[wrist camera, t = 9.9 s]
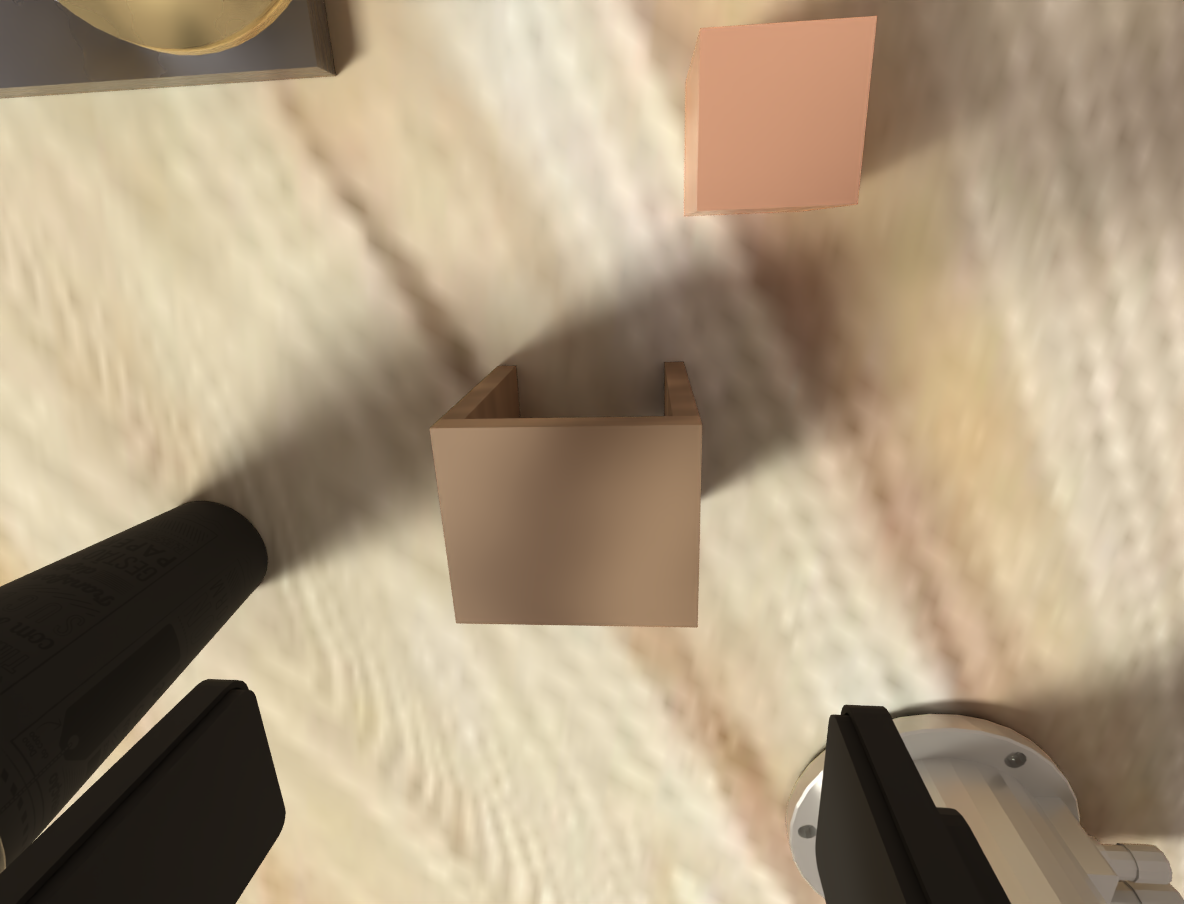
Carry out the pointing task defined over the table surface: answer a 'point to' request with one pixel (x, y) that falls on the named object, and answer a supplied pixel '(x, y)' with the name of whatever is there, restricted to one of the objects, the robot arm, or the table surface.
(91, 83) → the balance
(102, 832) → the robot arm
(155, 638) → the drinking cup
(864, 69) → the block
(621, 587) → the arch
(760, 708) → the table surface
